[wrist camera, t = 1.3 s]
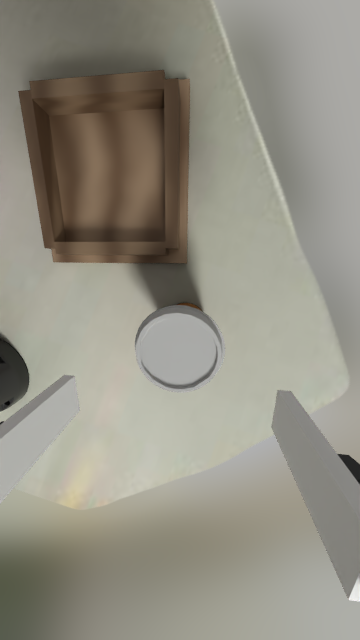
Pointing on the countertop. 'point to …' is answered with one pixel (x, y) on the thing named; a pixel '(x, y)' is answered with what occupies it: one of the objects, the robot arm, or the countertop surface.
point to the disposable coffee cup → (179, 348)
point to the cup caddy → (110, 166)
